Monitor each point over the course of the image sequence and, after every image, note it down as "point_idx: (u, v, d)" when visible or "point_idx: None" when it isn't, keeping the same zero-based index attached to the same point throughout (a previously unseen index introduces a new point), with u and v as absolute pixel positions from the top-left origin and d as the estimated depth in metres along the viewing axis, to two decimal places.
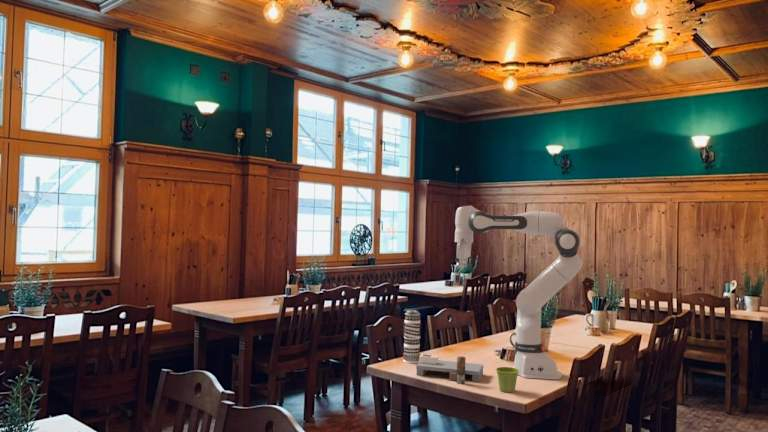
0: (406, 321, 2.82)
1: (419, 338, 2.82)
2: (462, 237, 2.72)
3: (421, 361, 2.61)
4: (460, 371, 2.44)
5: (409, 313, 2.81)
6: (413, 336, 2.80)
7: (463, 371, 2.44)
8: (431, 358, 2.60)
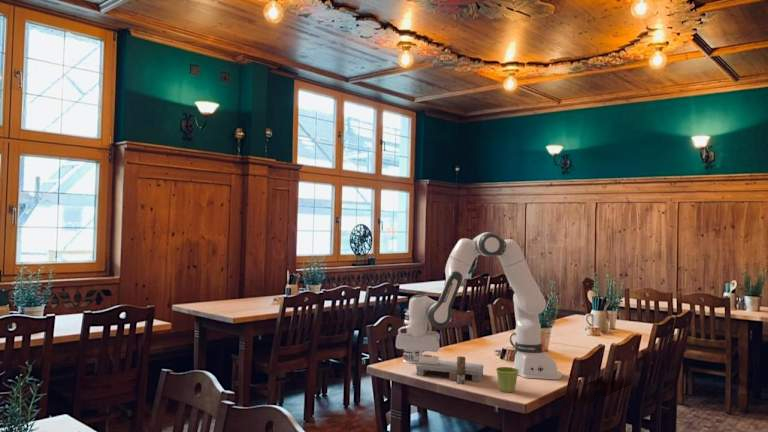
0: (406, 321, 2.82)
1: None
2: (426, 328, 2.63)
3: (422, 361, 2.61)
4: (460, 371, 2.44)
5: None
6: None
7: (463, 371, 2.44)
8: (432, 358, 2.59)
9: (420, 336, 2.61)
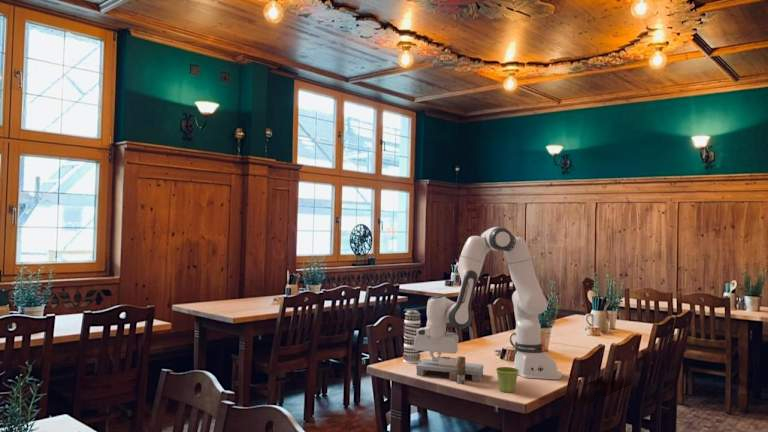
0: (406, 321, 2.82)
1: None
2: (445, 330, 2.60)
3: (440, 363, 2.58)
4: (460, 371, 2.44)
5: (409, 313, 2.81)
6: (413, 336, 2.80)
7: (463, 371, 2.44)
8: (450, 360, 2.57)
9: (439, 337, 2.58)
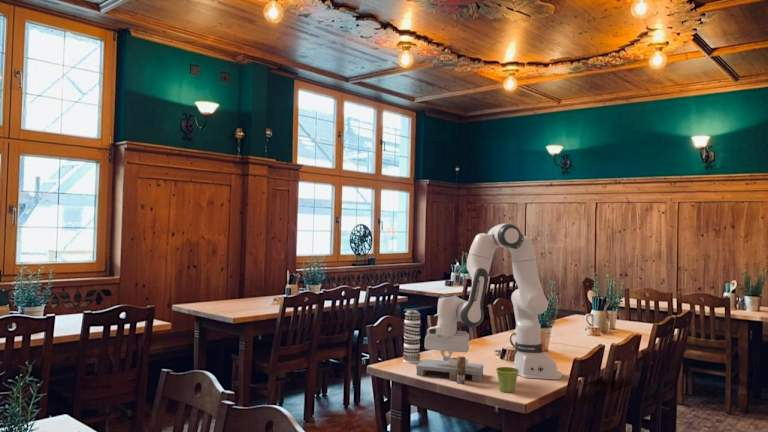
0: (406, 321, 2.82)
1: (419, 338, 2.82)
2: (456, 329, 2.58)
3: (451, 364, 2.57)
4: (459, 371, 2.44)
5: (409, 313, 2.81)
6: (413, 336, 2.80)
7: (463, 371, 2.44)
8: None
9: (450, 336, 2.57)
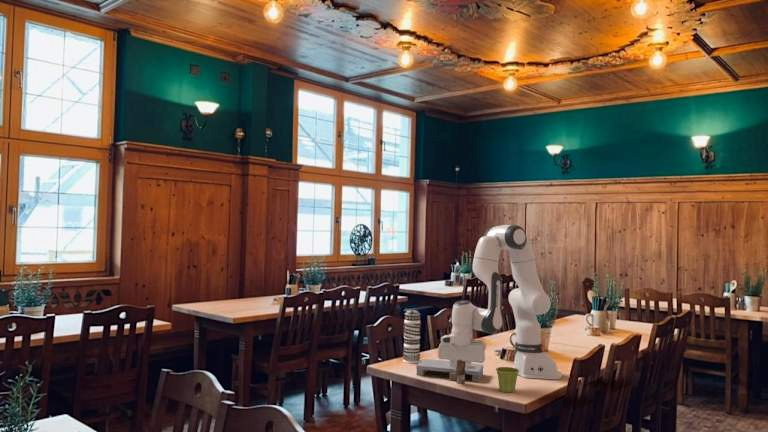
0: (406, 321, 2.82)
1: (419, 338, 2.82)
2: (471, 337, 2.45)
3: (451, 364, 2.57)
4: (459, 371, 2.44)
5: (409, 313, 2.81)
6: (413, 336, 2.80)
7: (463, 371, 2.44)
8: None
9: (465, 346, 2.43)
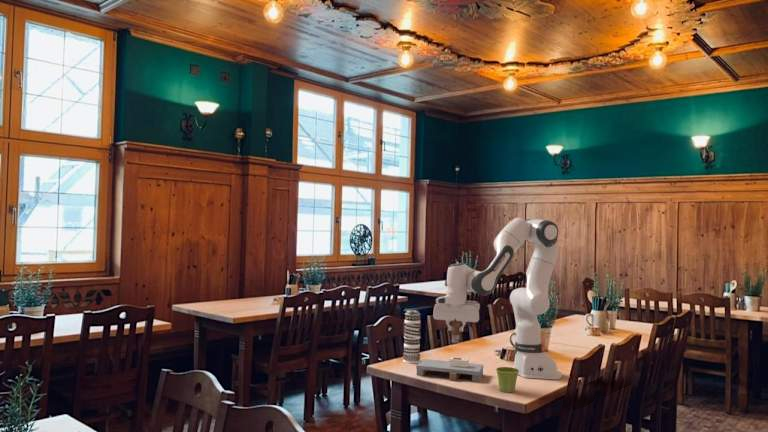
0: (406, 321, 2.82)
1: (419, 338, 2.82)
2: None
3: (451, 364, 2.57)
4: (454, 330, 2.52)
5: (409, 313, 2.81)
6: (413, 336, 2.80)
7: (458, 331, 2.52)
8: (462, 361, 2.55)
9: (459, 306, 2.51)
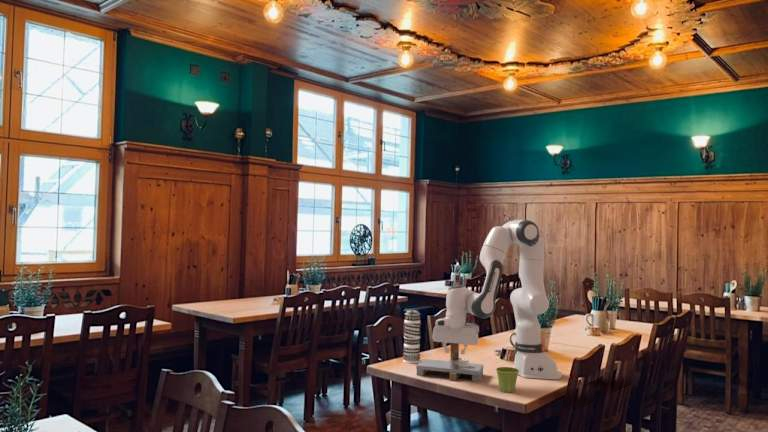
0: (406, 321, 2.82)
1: (419, 338, 2.82)
2: (465, 321, 2.52)
3: None
4: (453, 356, 2.52)
5: (409, 313, 2.81)
6: (413, 336, 2.80)
7: (457, 356, 2.52)
8: (462, 361, 2.55)
9: (458, 328, 2.51)
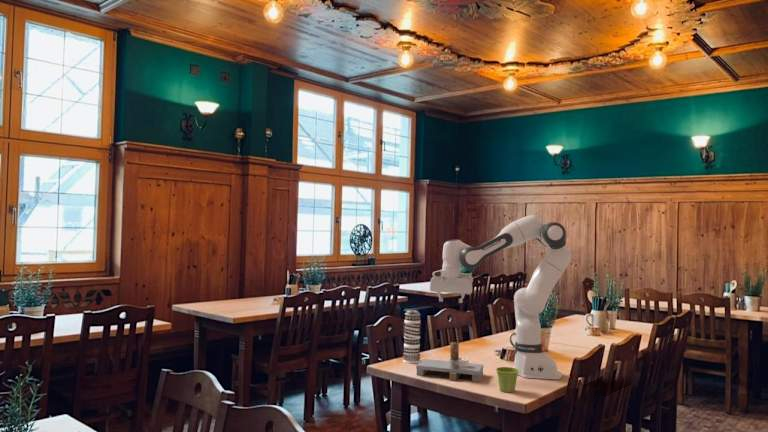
0: (406, 321, 2.82)
1: (419, 338, 2.82)
2: (460, 272, 2.72)
3: None
4: (453, 356, 2.52)
5: (409, 313, 2.81)
6: (413, 336, 2.80)
7: (457, 356, 2.52)
8: (462, 361, 2.55)
9: (454, 279, 2.70)
